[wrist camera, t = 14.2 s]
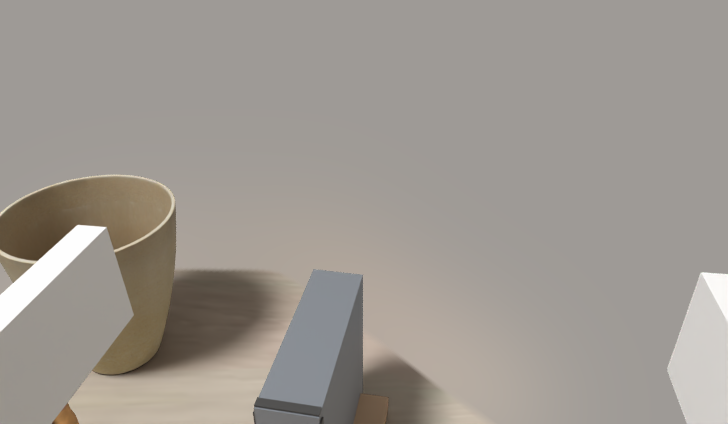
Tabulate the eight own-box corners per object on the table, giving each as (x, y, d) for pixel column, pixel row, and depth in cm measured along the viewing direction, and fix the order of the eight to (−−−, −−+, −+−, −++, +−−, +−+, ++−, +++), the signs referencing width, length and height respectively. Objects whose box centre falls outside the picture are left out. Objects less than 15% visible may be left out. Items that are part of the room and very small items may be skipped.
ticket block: (361, 556, 40) (360, 423, 33) (239, 533, 42) (214, 400, 34) (389, 400, 52) (394, 276, 45) (294, 386, 54) (283, 264, 46)
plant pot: (139, 425, 50) (95, 279, 42) (7, 382, 54) (-57, 242, 46) (228, 316, 62) (207, 186, 54) (114, 288, 66) (78, 163, 58)
